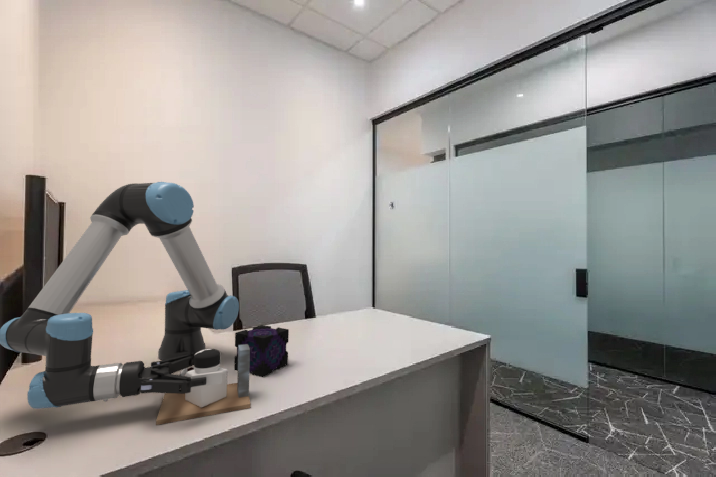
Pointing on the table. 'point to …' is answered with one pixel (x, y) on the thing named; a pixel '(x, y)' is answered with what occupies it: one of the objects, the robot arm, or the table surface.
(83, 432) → the table surface
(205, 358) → the medicine bottle
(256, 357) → the energy cube
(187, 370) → the watch
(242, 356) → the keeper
